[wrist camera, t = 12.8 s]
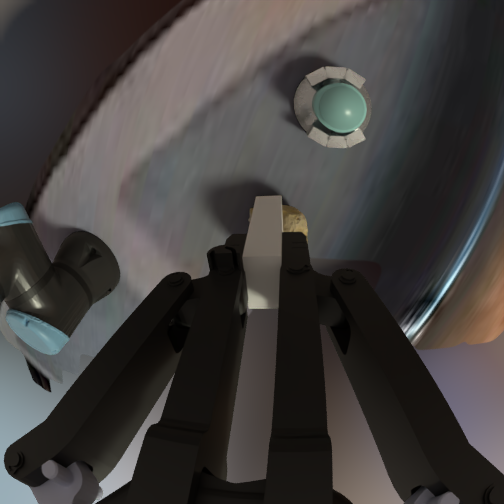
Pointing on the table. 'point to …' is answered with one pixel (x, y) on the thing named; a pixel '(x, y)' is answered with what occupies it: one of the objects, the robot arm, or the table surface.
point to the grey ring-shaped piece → (308, 117)
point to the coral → (291, 220)
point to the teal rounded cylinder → (339, 107)
